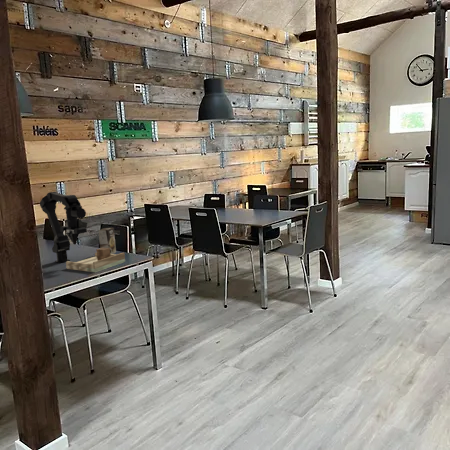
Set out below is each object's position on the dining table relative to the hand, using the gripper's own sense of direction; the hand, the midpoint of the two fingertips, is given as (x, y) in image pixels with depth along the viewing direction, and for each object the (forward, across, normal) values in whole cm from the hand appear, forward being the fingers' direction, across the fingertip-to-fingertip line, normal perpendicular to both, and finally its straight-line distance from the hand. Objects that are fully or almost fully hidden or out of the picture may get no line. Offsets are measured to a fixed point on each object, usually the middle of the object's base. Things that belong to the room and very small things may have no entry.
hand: (74, 244), depth 259 cm
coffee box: (+12, +6, -26) cm, 29 cm away
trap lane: (+12, -12, -5) cm, 17 cm away
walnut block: (+10, -18, -6) cm, 22 cm away
